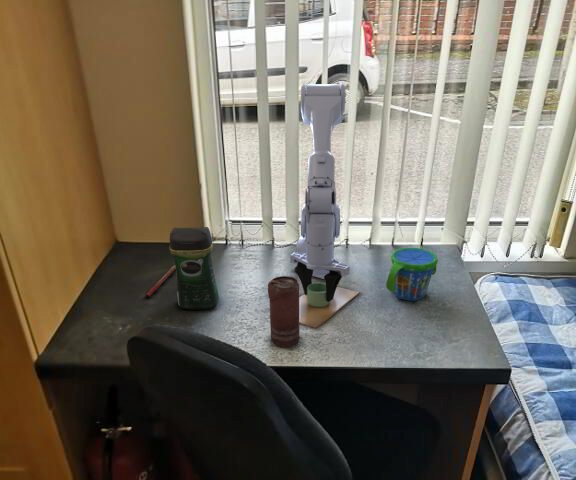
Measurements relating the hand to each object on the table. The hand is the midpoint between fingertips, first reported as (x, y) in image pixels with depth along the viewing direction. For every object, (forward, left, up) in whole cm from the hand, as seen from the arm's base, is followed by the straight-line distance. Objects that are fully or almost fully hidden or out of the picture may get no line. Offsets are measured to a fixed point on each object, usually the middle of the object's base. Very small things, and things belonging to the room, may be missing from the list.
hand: (318, 296), depth 134 cm
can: (+2, -18, -2) cm, 18 cm away
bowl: (0, 0, -2) cm, 2 cm away
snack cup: (+16, +16, -2) cm, 23 cm away
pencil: (-40, -11, -2) cm, 42 cm away
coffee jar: (-25, -15, -2) cm, 29 cm away
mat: (0, 0, -2) cm, 2 cm away
